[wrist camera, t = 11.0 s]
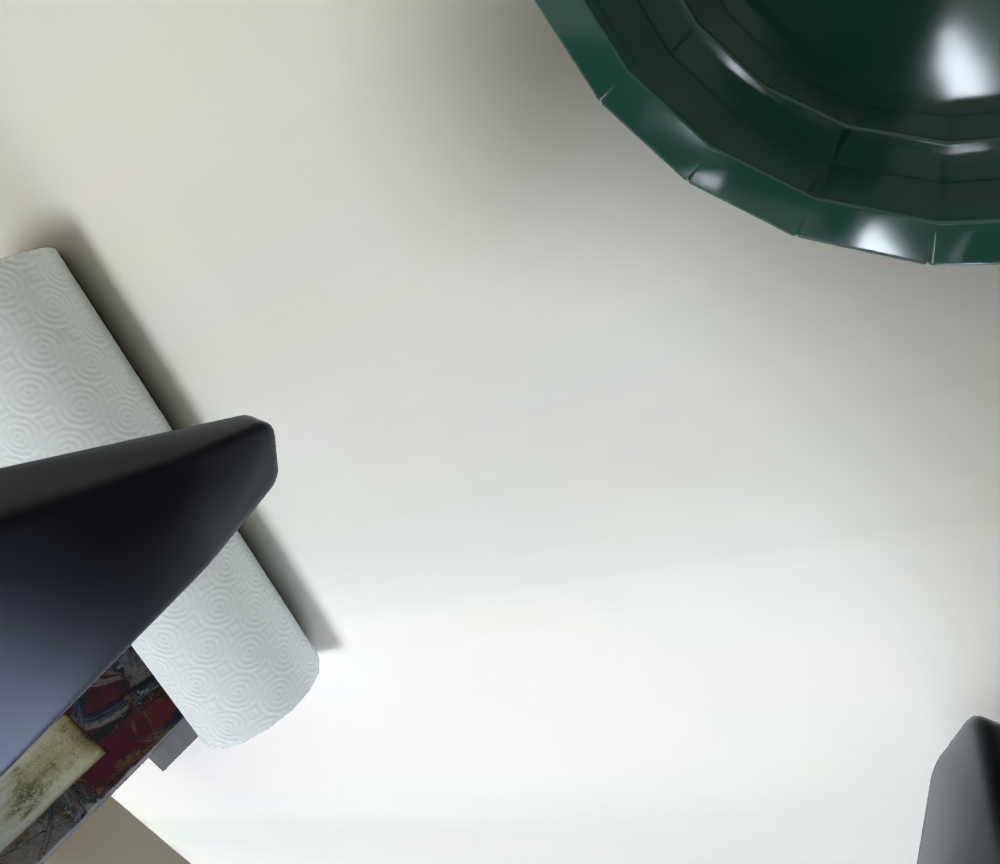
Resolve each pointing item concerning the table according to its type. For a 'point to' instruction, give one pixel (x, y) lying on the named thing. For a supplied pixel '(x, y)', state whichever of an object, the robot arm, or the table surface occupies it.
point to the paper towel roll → (124, 416)
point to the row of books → (87, 759)
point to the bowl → (814, 111)
